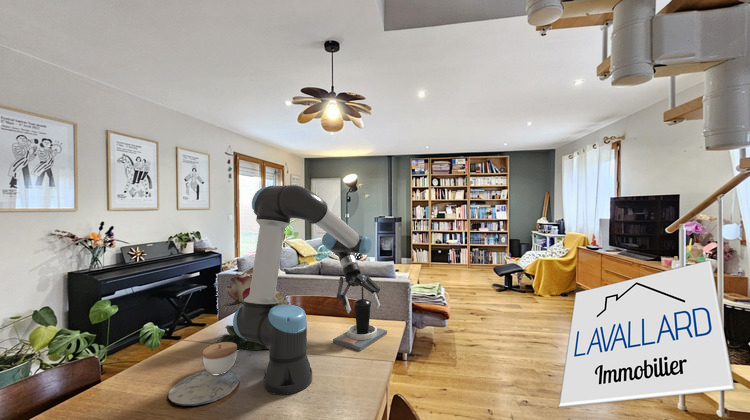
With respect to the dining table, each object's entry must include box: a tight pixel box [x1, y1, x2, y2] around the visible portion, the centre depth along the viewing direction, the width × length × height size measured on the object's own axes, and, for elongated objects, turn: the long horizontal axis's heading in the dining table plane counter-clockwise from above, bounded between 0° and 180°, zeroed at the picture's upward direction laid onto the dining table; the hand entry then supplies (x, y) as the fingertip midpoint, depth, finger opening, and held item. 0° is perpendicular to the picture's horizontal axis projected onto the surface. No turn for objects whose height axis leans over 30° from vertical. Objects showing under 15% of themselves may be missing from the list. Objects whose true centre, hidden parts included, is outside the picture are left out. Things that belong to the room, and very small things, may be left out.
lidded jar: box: [202, 342, 238, 375], centre depth 110 cm, size 11×11×9 cm
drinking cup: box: [353, 287, 372, 334], centre depth 138 cm, size 8×8×20 cm
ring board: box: [332, 323, 388, 352], centre depth 137 cm, size 20×14×4 cm
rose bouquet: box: [215, 267, 290, 351], centre depth 138 cm, size 26×29×30 cm
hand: (364, 309), depth 136 cm, fingers open, 13 cm apart
